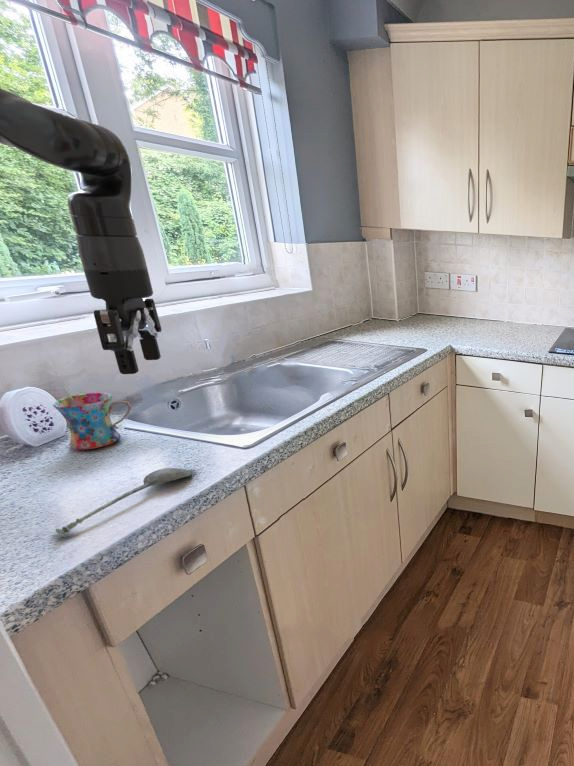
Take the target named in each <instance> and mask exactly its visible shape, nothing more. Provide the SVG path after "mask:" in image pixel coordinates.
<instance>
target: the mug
mask: <svg viewBox="0 0 574 766" xmlns="http://www.w3.org/2000/svg"><path fill="white" fill-rule="evenodd" d="M112 399H113V396H112V394H110V393H107V392H89V393H88V392H87V393H80V394H76V395H75V394H74V395H71V396H66V397H62V398H60V399H58V400H56V401H54V402H53V403H52V407H53V408H54V409H55V410H57V412H59V414H60V415H62V417H63V418H64V420H65V421H66V423H67V425H68V427H69V432H70V441H69V443H68V444H69V445H68V446H69V447H70V448H72V449H74V450H93V449H94V450H95V449H98V448H103V447H106V446H109V445H112V444H114V443H116V442H117V441H119V440H120V439H121V436H122V434H121V433H120V432H119V431H118V429H119V428H120V427H119V426H118V424H120V423H122V422H123V421H124V420H125V419H126V418H127V417H128V416H129V414H130V412H131V410H132V406H131V403H129V401H126V400H117V401H114V402H113V403H111V402H112ZM117 404H126V406H127V408H128V409H127V411H126V413H125V415H124V416H123V417H122V418H121V419H119V420H117V421H115V422H114V423H113V422H112V421H111V420H112V419H111V412H112V410H113V407H114V406H115V405H117Z"/></svg>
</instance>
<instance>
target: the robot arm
mask: <svg viewBox="0 0 574 766" xmlns="http://www.w3.org/2000/svg"><path fill="white" fill-rule="evenodd" d="M0 144H1V145H5V146H7V147H11V148H14V149H16V150H18V151H21V152H22V153H24V154H26V155H29V156H31V157H33V158H34V159H38V160H40V161H42V162H44V163H46V164H48V165H52V166H54V167H57V168H59V169H63V170H65V171H69V172H74V173H79V177H80V189H79V191H76V192H73V193H70V194H69V195H68V197H67V207H68V211H69V215H70V219H71V222H72V225H73V229H74V232H75V236H76V242H77V251H78V255H79V258H80V262H81V265H82V269H83V273H84V275H85V276H84V277H85V279H86V283H87V287H88V291H89V292H90V296H91V297H92V298H93V299H96V300H103V301H104V302H105V309H95V310H94V311H93V317H94V321H95V324H96V328H97V333H98V337H99V340H100V344H101V348H102V350H103V351H110V352H113V354H114V357H115V360H116V364H117V368H118V371H119V373H120V374H121V375H135V374H137V373H138V372H139V366H138V362H137V357H136V355H135V352H134V351H135V350H134V349H133V346H134V340H135V339H136V338H137V337H138V338H139V345H140V348H141V352H142V355H143V356H142V357H143V359H144V360H146V361H157V360H160V359H161V357H162V355H161V351H160V348H159V344H158V343H159V342H158V337H159V333H161V332H162V326H161V322H160V319H159V314H158V311H157V307H156V304H155V300H154V299H153V297H152V296H153V295H154V289H153V287H152V286H153V285H152V283H151V278H150V273H149V270H148V266H147V262H146V258H145V253H144V250H143V247H142V245H141V243H140V240H139V237H138V232H137V228H136V224H135V220H134V216H133V213H132V210H131V209H132V208H131V203H132V179H133V178H132V177H133V175H132V173H133V172H132V171H133V170H132V163H131V159H130V158H131V157H130V155H129V153H128V151H127V148H126V146H125V145H124V143H123V141H122V140H121V139H120V137H118V135H117V134H115V133H114V132H113V131H112V130H110V129H108V128H107V127H106V126H102V125H99V124H96V123H93V122H90V121H86V120H82V119H79V118H76V117H73V116H69V115H67V114H63V113H61V112H58V111H54V110H52V109H48V108H46V107H43V106H40V105H37V104H35V103H33V102H32V101H30V100H29V99H27V98H25V97H22V96H20V95H18V94H15V93H14V92H11V91H8V90H6V89H3V88H1V87H0ZM150 297H151V298H150Z"/></svg>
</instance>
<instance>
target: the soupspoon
mask: <svg viewBox="0 0 574 766" xmlns="http://www.w3.org/2000/svg"><path fill="white" fill-rule="evenodd" d="M191 475H192V472H190V471H188V470H186V469H183V468H177V467H165V468H160V469H156V470H154V471H152V472H150V473H149V474H146V475H145V476H144V477H143V484H142V485H139V486H137V487H135V488H133V489H131V490H129V491H127V492H125V493H123V494H121V495H119V496H117V497H116V498H114V499H112V500H110V501H109V502H106V503H104V505H101V506H100V507H98V508H96V509H94V510H92V511H91V512H89V513H87V514H85V515H84V516H82V517H81V518H76V520H75V521H72V522H70V523H68V524H66V525H64V526H62V527H61V528H55V532H56V533H57V534H58V535H60V536H61V537H62V538H63V537H64V538H65V537H67V534H66V533H69V532H70V531H71V530H73V529H74V528H76V527H77V526H78V524H82V523H83V522H84V521H85V520H88V518H89V519H90V518H91V517H92V516H94V515H96V514H98V513H99V512H101V511H104V510H105V509H107V508H109V507H111V506H113V505H114V504H116V503H118V502H120V501H122V500H124V499H126V498H128V497H129V496H132V495H134V494H135V493H138V492H140V491H142V490H145V489H147V488H149V487H152V486H156V485H161V484H164V483H168V482H172V481H176V480H179V479H184V478H186V477H190V476H191Z"/></svg>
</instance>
